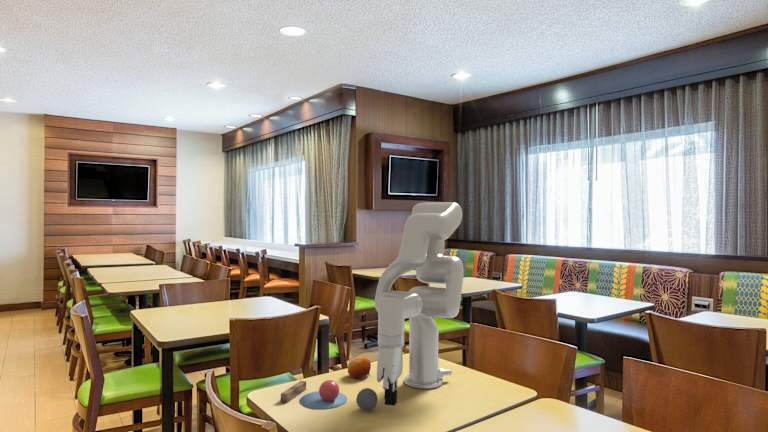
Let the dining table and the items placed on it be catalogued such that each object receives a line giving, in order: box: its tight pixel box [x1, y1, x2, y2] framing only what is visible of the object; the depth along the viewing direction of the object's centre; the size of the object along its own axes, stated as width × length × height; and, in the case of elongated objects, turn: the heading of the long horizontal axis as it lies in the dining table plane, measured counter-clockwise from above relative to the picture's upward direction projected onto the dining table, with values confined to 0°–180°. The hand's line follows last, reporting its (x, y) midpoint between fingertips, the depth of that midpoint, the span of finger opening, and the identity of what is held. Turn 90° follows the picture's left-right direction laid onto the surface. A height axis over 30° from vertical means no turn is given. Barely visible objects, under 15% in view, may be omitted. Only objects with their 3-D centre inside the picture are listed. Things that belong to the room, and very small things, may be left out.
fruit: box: [347, 355, 372, 380], centre depth 166 cm, size 8×8×8 cm
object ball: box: [318, 379, 340, 402], centre depth 144 cm, size 6×6×6 cm
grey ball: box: [356, 387, 378, 412], centre depth 138 cm, size 6×6×6 cm
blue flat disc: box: [299, 390, 348, 410], centre depth 145 cm, size 14×14×1 cm
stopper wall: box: [280, 380, 307, 404], centre depth 148 cm, size 12×2×2 cm, turn 161°
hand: (390, 404), depth 138 cm, fingers closed
